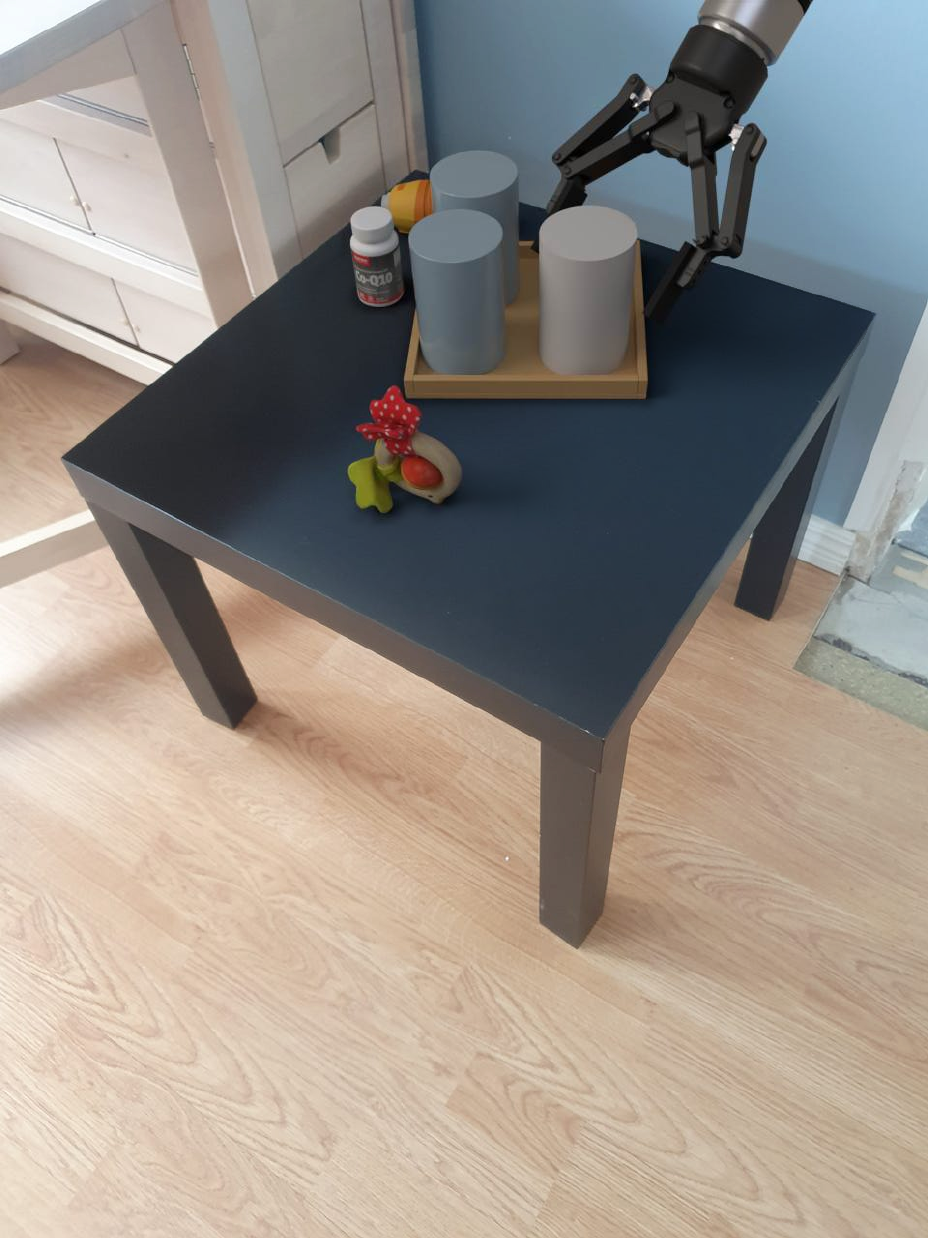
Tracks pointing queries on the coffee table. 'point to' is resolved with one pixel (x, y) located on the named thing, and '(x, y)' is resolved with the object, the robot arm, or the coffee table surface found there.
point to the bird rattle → (423, 462)
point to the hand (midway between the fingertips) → (593, 286)
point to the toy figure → (408, 203)
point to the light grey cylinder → (585, 289)
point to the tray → (535, 355)
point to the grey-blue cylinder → (483, 199)
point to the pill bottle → (376, 257)
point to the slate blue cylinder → (459, 291)
